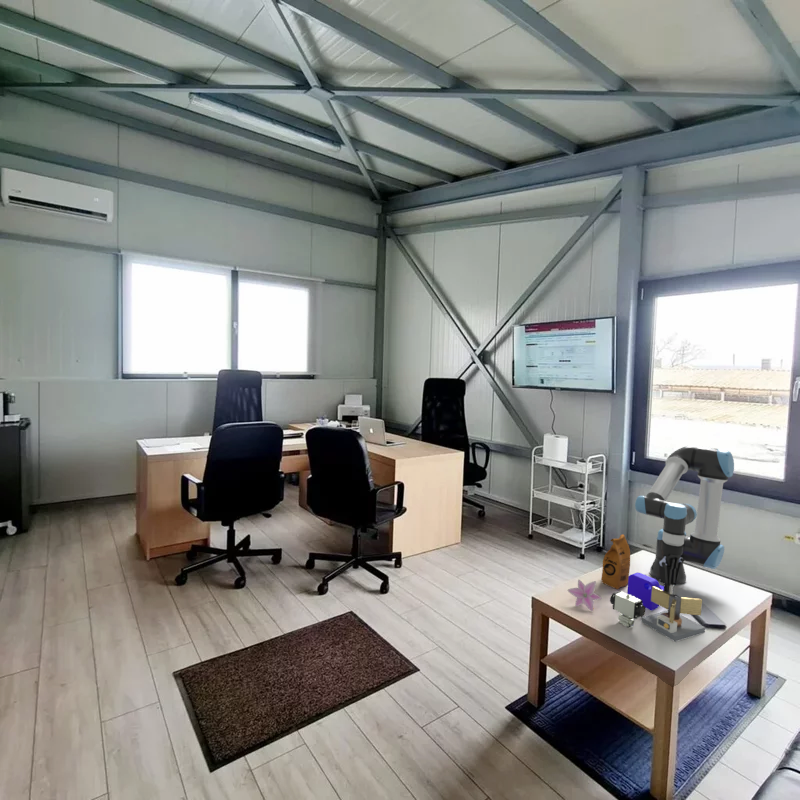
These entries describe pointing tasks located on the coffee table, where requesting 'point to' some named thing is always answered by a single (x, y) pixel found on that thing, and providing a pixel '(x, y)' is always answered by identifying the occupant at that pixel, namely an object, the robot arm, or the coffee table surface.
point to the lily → (585, 594)
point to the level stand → (673, 626)
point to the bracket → (643, 589)
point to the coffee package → (616, 564)
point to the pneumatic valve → (627, 607)
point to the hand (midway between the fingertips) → (667, 599)
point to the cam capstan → (676, 605)
